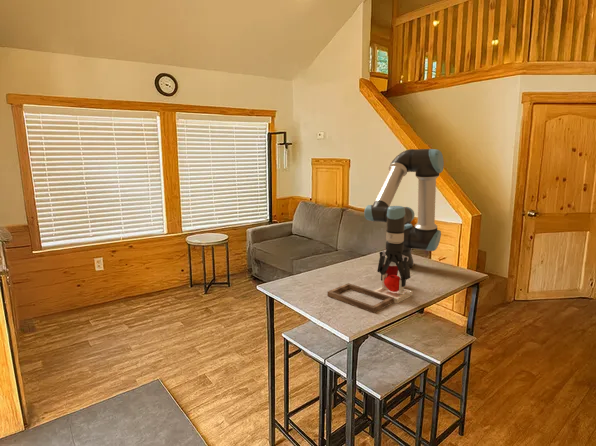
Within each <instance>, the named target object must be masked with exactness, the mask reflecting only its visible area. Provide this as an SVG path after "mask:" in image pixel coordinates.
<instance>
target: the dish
mask: <svg viewBox="0 0 596 446" xmlns="http://www.w3.org/2000/svg"><path fill="white" fill-rule="evenodd" d="M373 291H374V292H378V293H381V294H384V295H386V296H390V297H394V302H393V303H395V304H399V303H401V302H402V301H404V300H406V299H408V298H409V297H412V296H413V290H410V289H405V288H404V293H402V294H399V291H397V292H392V291H390V290H389V289H388V288H384V289H382V286H381V287H379V288H377V289H375V290H373Z"/></svg>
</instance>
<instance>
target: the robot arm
mask: <svg viewBox="0 0 596 446" xmlns="http://www.w3.org/2000/svg"><path fill="white" fill-rule="evenodd" d="M444 166H445V165H444V156H443V153H442V151H441V150H440V149H434V148H420V149H419V148H415V149H414V148H408V149H406V150H404V151H402V152H400V153H399V154H398V155H396V157H395V158H394V159H393V160H392V161H391V162H390V164H389V167H388V170H389V171H388V172H387V175H386V177H385V179H384V181H383V183H382V185H381V188H380V189H379V191H378V193H377V196H376V197H375V200H374V202H373V204H368V205H366V206H365V208H364V211H363V213H364V215H363V216H364V219H365V220H366V221H369V222H373V223H374V222H375V223H376V222H378V223H379V222H380V223H386V231H385V232H386V234H385V235H386V237H385V240H386V242H385V250H382V251H380V252H379V259H378V265H377V271H376V272H377V273H380V281H381V287H382V289H384V288H387V287H386V286H385V284H384V280H385V278H386V277H387V274H385V273H386V271H387V269H388V267H389V265H390V263H391V262H394V263H396V265H397V267H398V273H399V277H400V278H401V279H400V281H399V294H402V293H404V289H405V287H406V285H407V280H409V279H411V269H410V268H412V267H413V266H414V257H413V255H412V249H415V250H421V251H426V252H434V251H436V250H437V249H438V247H439V244H440V242H441V237H442V231H441V229H438V224H436V223H435V220H436V219H435V217H436V190H437V178H439V177H440V174H441V173H443V171H444ZM407 173H415V177H416V178H417V179H418V184H417V185H418V189H417V190H418V191H417V193H418V194H417V223H416V224H414V227H413V224H412V223H411V222H412V221H413V220H414V219H415V211H414V209H413V208H411V207H410V206H409V207H408V206H402V205H391V204H392V202H393V200H394V197H395V195H396V193H397V191H398V189H399V187H400V184H401V183H402V180H403V178H404V177H406V176H407ZM385 257H387V259H386V262H385V264H384V260H385ZM398 262H399V263H398ZM383 265H384V267H383Z"/></svg>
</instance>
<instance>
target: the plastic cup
mask: <svg viewBox="0 0 596 446" xmlns="http://www.w3.org/2000/svg"><path fill="white" fill-rule="evenodd" d="M386 259H387V256H385V260H384V264H385V262H386ZM398 263H399V262H398ZM383 267H384V265H383ZM398 273H399V270H398V267H397V265H396V263H394V262H391V263H390V265H389V267H388V269H387V271H386V273H385V274H387V276H389V275H397V276H398Z"/></svg>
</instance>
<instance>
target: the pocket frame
mask: <svg viewBox="0 0 596 446" xmlns="http://www.w3.org/2000/svg"><path fill="white" fill-rule="evenodd" d="M347 290H352V291H353V292H354V291H355V292H357V293H360V294H364V295H367V296H369V297H372V298H375V299H378V300H381V301H380V302H377V303H375V304H374V305H372V304H369V303H366V302H364V301H360V300H358V299H355V298H352V297H349V296H346V295H343V294H340V293H342V292H344V291H347ZM374 291H375V290H371V289H368V288H365V287H361V286H357V285H356V284H352V283H349V282H348V283H345V284H343V285H339V286H338V287H335V288H333V289H331V290H328V291H327V297H330V298H332V299H335V300H338V301H340V302H343V303H345V304H349V305H352V306H354V307H357V308H360V309H363V310H365V311H367V312H368V311H369V312H371V313H377V312H378V311H379V310H382V309H383V308H385V307H387V306H389V305H391V304H393V303H395V302H394V297H390V296H386V295H384V294H381V293H378V292H374Z"/></svg>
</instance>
